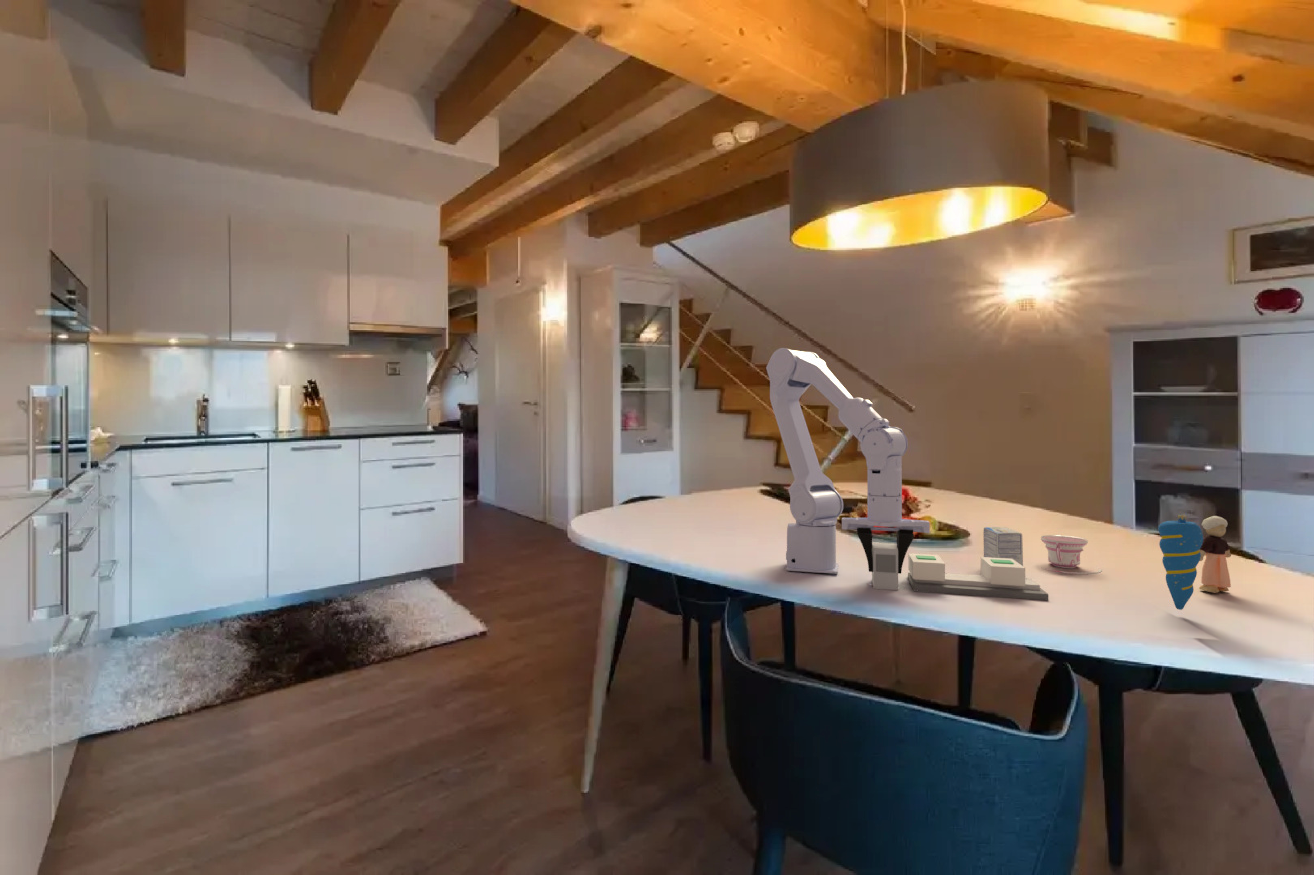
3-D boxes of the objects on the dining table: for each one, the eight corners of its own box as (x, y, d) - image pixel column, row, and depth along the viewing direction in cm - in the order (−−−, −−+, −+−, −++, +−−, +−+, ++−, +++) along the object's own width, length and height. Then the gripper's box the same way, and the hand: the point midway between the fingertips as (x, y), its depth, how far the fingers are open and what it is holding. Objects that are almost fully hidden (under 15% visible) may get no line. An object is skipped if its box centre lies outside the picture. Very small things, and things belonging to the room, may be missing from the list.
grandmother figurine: (1220, 595, 99) (1220, 518, 99) (1191, 589, 103) (1191, 516, 103) (1240, 589, 103) (1240, 515, 103) (1211, 584, 106) (1211, 513, 106)
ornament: (1149, 605, 93) (1149, 509, 93) (1179, 604, 94) (1179, 508, 94) (1181, 615, 88) (1180, 513, 88) (1213, 614, 89) (1212, 512, 89)
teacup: (1038, 560, 128) (1038, 531, 128) (1107, 569, 120) (1107, 538, 120) (1022, 569, 120) (1022, 538, 120) (1095, 579, 111) (1095, 546, 111)
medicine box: (1023, 580, 110) (1023, 533, 110) (997, 579, 111) (997, 532, 111) (1007, 571, 118) (1007, 527, 118) (983, 570, 119) (982, 526, 119)
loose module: (873, 588, 104) (873, 548, 104) (871, 580, 110) (871, 542, 110) (898, 590, 103) (898, 549, 103) (895, 582, 109) (895, 543, 109)
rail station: (913, 591, 102) (913, 561, 102) (907, 577, 112) (907, 551, 112) (1048, 600, 96) (1048, 569, 96) (1029, 585, 106) (1029, 557, 106)
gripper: (841, 496, 105) (841, 573, 105) (932, 498, 100) (932, 579, 100) (841, 492, 112) (841, 565, 112) (926, 494, 107) (926, 570, 107)
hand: (884, 571), depth 106 cm, fingers closed on loose module, 4 cm apart
